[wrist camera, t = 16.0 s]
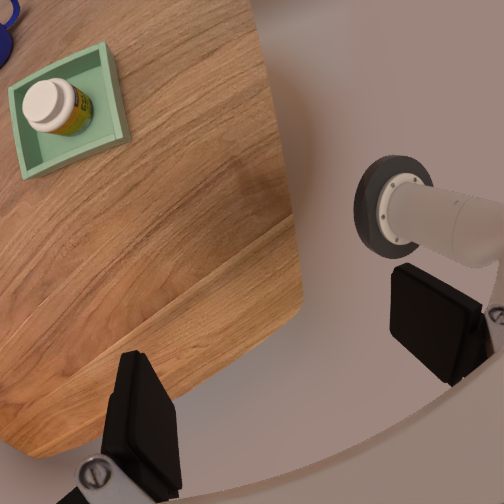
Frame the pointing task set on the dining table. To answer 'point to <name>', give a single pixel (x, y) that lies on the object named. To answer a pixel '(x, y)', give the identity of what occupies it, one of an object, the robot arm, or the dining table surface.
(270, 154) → the dining table surface
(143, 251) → the dining table surface
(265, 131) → the dining table surface
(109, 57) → the bin
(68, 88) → the supplement bottle
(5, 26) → the mug
